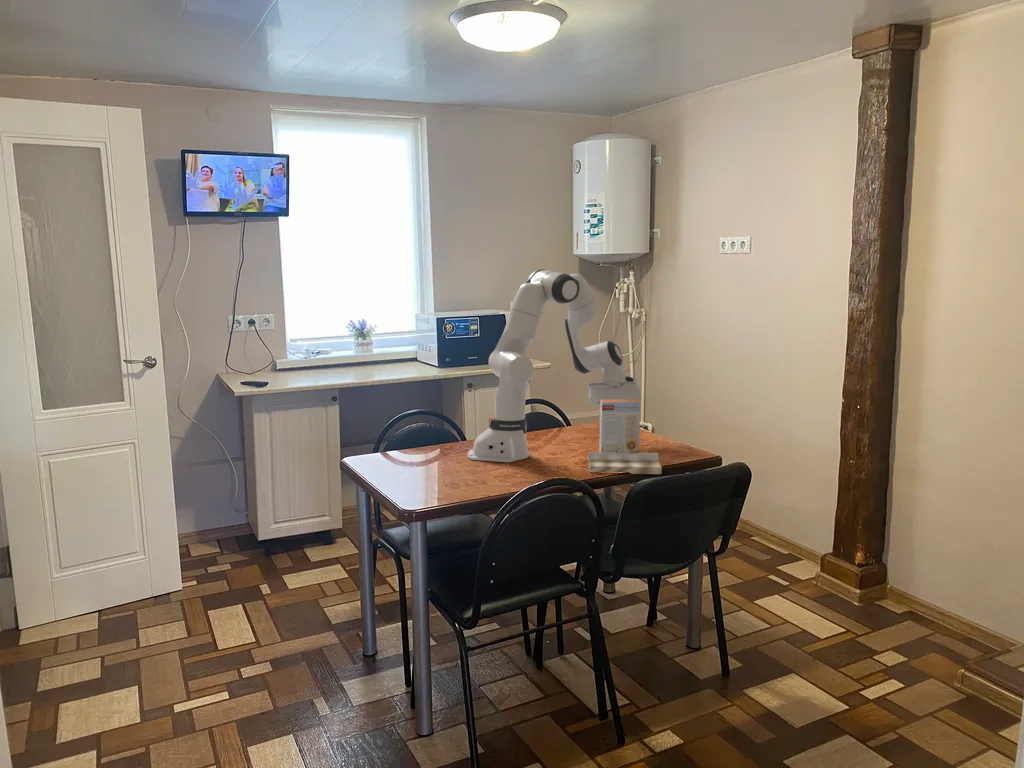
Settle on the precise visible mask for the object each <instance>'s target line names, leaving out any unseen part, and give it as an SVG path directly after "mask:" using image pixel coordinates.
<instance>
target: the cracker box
mask: <svg viewBox="0 0 1024 768" xmlns="http://www.w3.org/2000/svg"><path fill="white" fill-rule="evenodd" d="M640 420H641V402H640V401H638V400H637V399H608V400H600V405H599V443H598V444H599V445H598V449H599V451H598V452H621V453H640V427H641V421H640Z"/></svg>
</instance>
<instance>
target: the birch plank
mask: <svg viewBox="0 0 1024 768" xmlns="http://www.w3.org/2000/svg"><path fill="white" fill-rule="evenodd" d="M588 465H589V466H588V469H590V470H589V473H590V472H629V473H631V474H632V475H635V474H636V475H662V471H663V467H662V465H661V463H660V462H639V461H589V460H588ZM631 474H630V475H631Z"/></svg>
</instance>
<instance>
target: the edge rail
mask: <svg viewBox="0 0 1024 768" xmlns="http://www.w3.org/2000/svg"><path fill="white" fill-rule="evenodd" d="M659 454H660V453H659V452H639V453H621V452H599V451H588V462H589V461H639V462H659V461H660V460H659V459H660V457H659V456H660V455H659ZM659 463H660V462H659Z"/></svg>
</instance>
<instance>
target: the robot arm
mask: <svg viewBox="0 0 1024 768" xmlns="http://www.w3.org/2000/svg"><path fill="white" fill-rule="evenodd" d="M547 302H550V303H558V304H565V306H566V309H567V312H568V313H567V315H566V317H565V320H564V326H565V332H566V336H567V341H568V345H569V348H570V352H571V356H572V362H573V363H572V364H573V366H574V369H575V370H576V371H577V372H579V373H580V374H588V373H590V372H593V371H596V370H600V369H601V371H602V375H601V382H591V383H589V384H588V385H587V389H586V390H587V392H588V403H589V405H593V406H595V405H599V406H600V400H608V399H637V400H638V401H640V403H641V401H642V394H641V390H640V386H639V385H638V384H637V379H636V378H635V377H632V376H628V375H626V374H624V361H623V353H622V350H621V348H620V347H619V346H618V345H617V344H616V343H614V342H612V341H610V340H608V341H604V342H603V341H602V342H599V343H596V344H592V345H590V346H582V343H581V338H580V334H579V332H580V330H581V329H582V328H584V327H585V326H587V325H588V324H589V323H591V322H592V320H593V319H594V318H595V317H596V315H597V312H598V307H599V306H598V303H597V299H596V297H595V296H594V292H593V291H592V289H591V286H590V285H589V284H588V282H587V281H586V279H585V278H584V276H583V275H581V274H579V273H570V274H567V273H562V272H559V271H557V270H552V269H551V270H547V269H537V270H534V271H532V273H531V274H529V276H528V278H527V280H526V282H525V283H522V284H521V285H520V286H519V288H518V290H517V291H516V295H515V296H514V299H513V300H512V304H511V306H510V310H509V314H508V317H507V320H506V324H505V327H504V329H503V332H502V333H501V334H502V335H501V336H500V339H499V340H498V342H497V344H496V345H495V348H494V350H493V351H492V352H491V353H490V355H489V357H488V366H489V368H490V371H492V373H493V374H494V375H495V376H497V377H499V382H498V387H497V392H496V394H495V395H494V417H493V416H489V417H488V427H489V428H487V429H486V430H485V431H483V432H482V433H480V434H479V435H478V436H476V438H475V440H474V443H473V448H471V449H469V450H468V451H467V458H468V459H469V460H472V461H483V462H484V461H485V462H499V463H513V462H515V461H520V460H525V459H528V458H529V457H530V453H529V450H528V444H527V434H526V433H527V430H528V429H527V417H526V395H527V392H528V391H527V389H528V386H529V382H530V379H531V378H532V376H533V373H534V364H533V363H532V361H531V360H530V358H529V357H528V356H527V355H525V352H526V350H527V349H528V347H529V345H530V344H531V343H532V342H533V341H534V339H535V337H536V333H537V330H538V326H539V323H540V318H541V316H542V312H543V308H544V305H545V304H546V303H547Z"/></svg>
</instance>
